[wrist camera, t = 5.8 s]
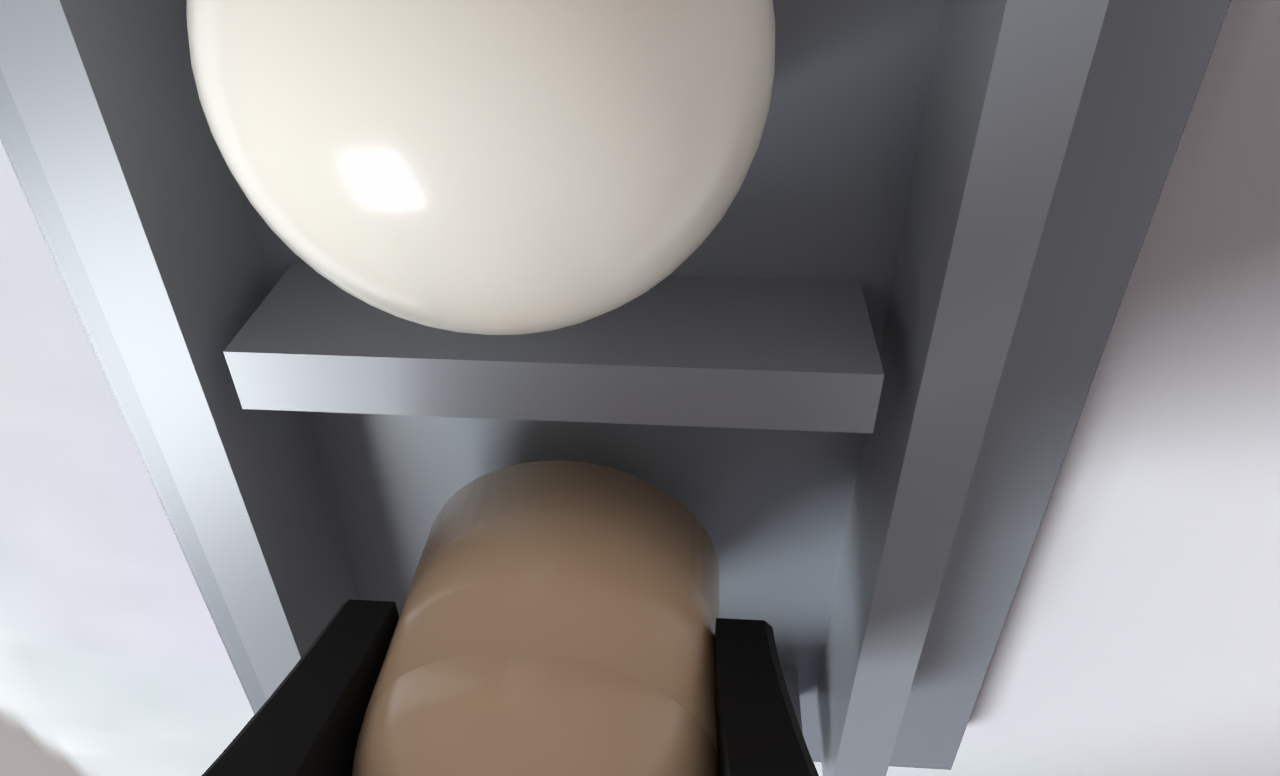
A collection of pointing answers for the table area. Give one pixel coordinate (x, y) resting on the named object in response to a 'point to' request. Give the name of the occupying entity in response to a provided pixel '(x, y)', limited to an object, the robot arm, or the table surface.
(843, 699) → the carton
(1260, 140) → the table surface
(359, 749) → the loose egg
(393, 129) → the seated egg
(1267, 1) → the table surface
